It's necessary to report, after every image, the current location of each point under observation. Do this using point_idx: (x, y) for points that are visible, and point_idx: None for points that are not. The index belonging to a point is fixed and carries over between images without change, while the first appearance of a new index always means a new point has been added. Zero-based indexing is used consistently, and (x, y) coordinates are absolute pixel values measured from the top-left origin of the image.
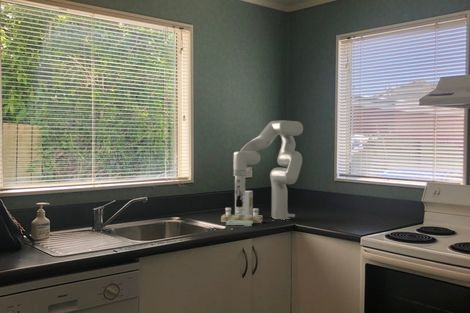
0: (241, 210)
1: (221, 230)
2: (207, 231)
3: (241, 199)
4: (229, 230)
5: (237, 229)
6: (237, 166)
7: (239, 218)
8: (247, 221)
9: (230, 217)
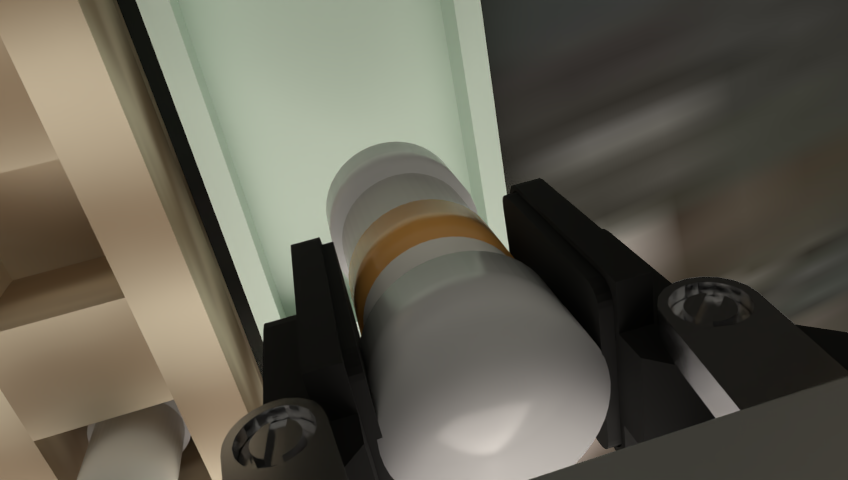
0: (418, 175)
1: (759, 203)
2: (826, 307)
3: (472, 352)
4: (751, 113)
5: (666, 36)
6: None
7: (180, 230)
8: (185, 43)
9: (237, 379)
